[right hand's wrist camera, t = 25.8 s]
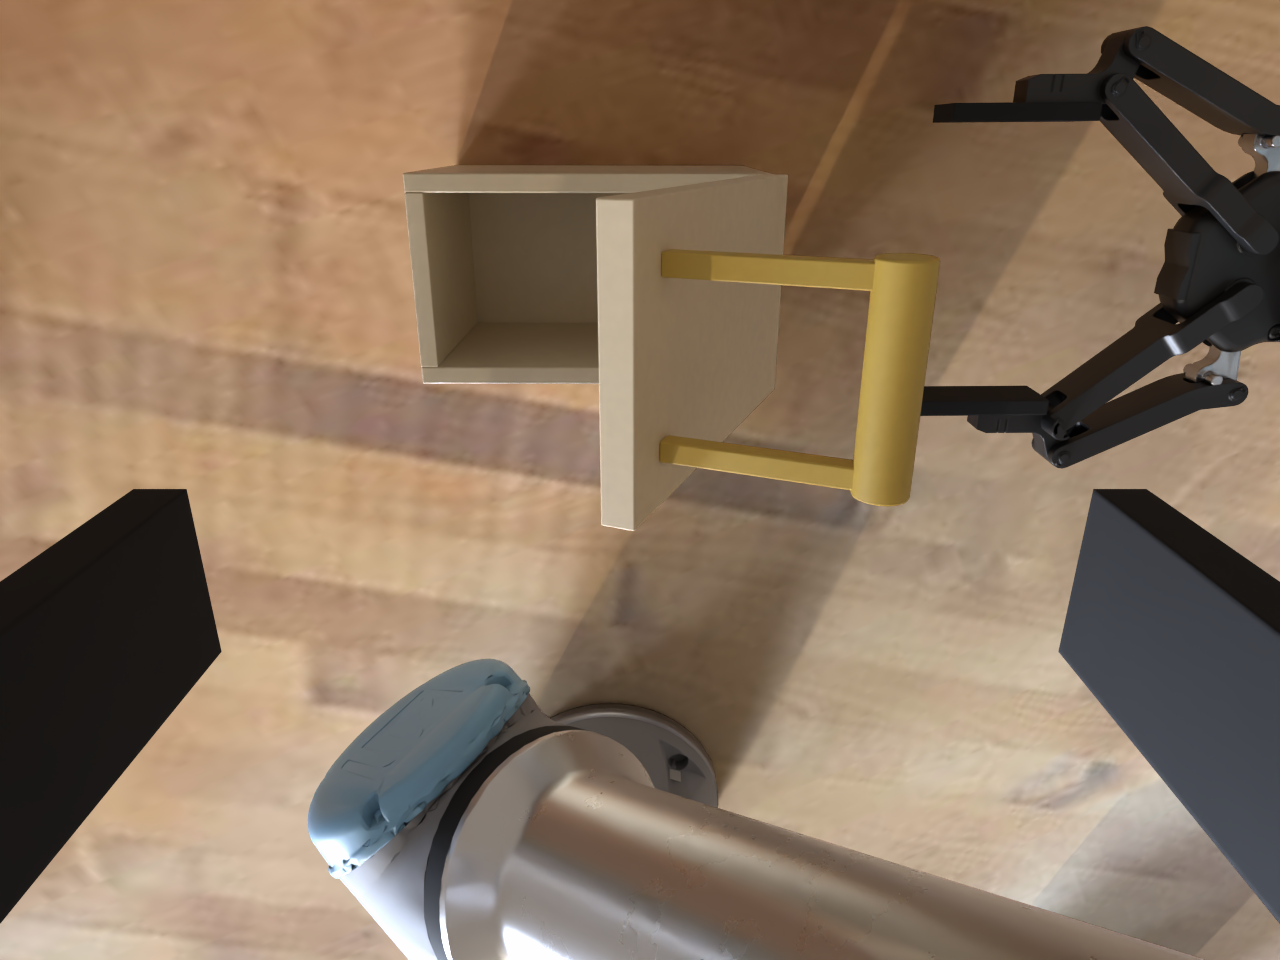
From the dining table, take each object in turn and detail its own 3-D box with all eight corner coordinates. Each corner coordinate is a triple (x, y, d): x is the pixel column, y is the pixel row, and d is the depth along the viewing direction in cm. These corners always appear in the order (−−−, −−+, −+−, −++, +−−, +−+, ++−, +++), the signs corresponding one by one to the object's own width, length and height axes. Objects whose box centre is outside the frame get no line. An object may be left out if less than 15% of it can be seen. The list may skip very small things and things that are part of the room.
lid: (600, 525, 25) (892, 578, 22) (595, 197, 22) (940, 208, 19) (752, 386, 39) (943, 407, 36) (762, 173, 36) (975, 177, 33)
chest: (467, 333, 50) (422, 383, 39) (455, 165, 46) (402, 173, 36) (736, 333, 50) (761, 384, 39) (744, 165, 46) (773, 173, 36)
